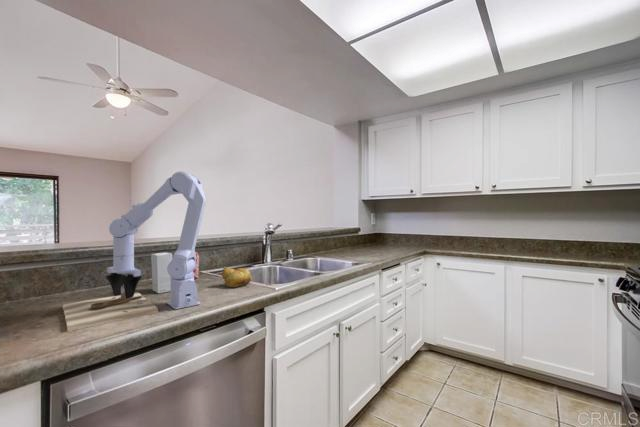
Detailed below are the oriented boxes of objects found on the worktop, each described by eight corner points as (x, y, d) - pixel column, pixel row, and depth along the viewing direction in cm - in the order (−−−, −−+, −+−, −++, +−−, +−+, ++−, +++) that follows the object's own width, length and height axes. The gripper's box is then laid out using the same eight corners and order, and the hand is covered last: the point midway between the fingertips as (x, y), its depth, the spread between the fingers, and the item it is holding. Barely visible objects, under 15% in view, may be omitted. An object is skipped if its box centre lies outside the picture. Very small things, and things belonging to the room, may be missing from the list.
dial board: (158, 312, 89) (158, 308, 89) (67, 331, 74) (67, 326, 74) (137, 295, 108) (137, 291, 108) (62, 307, 93) (62, 303, 93)
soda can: (178, 282, 129) (178, 252, 129) (191, 278, 135) (191, 251, 135) (188, 283, 126) (188, 253, 126) (202, 280, 132) (202, 252, 132)
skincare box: (173, 291, 113) (173, 253, 113) (156, 294, 109) (156, 254, 109) (167, 287, 119) (167, 251, 119) (150, 290, 115) (150, 252, 115)
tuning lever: (92, 309, 87) (92, 293, 87) (89, 307, 88) (89, 291, 88) (143, 298, 98) (143, 283, 98) (138, 297, 100) (138, 282, 100)
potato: (246, 280, 132) (246, 263, 132) (258, 284, 125) (258, 265, 125) (219, 285, 122) (219, 267, 122) (231, 290, 116) (231, 269, 116)
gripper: (97, 255, 95) (97, 296, 95) (125, 258, 89) (125, 302, 89) (119, 253, 102) (119, 291, 102) (147, 255, 96) (147, 296, 96)
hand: (123, 296), depth 96 cm, fingers open, 5 cm apart
